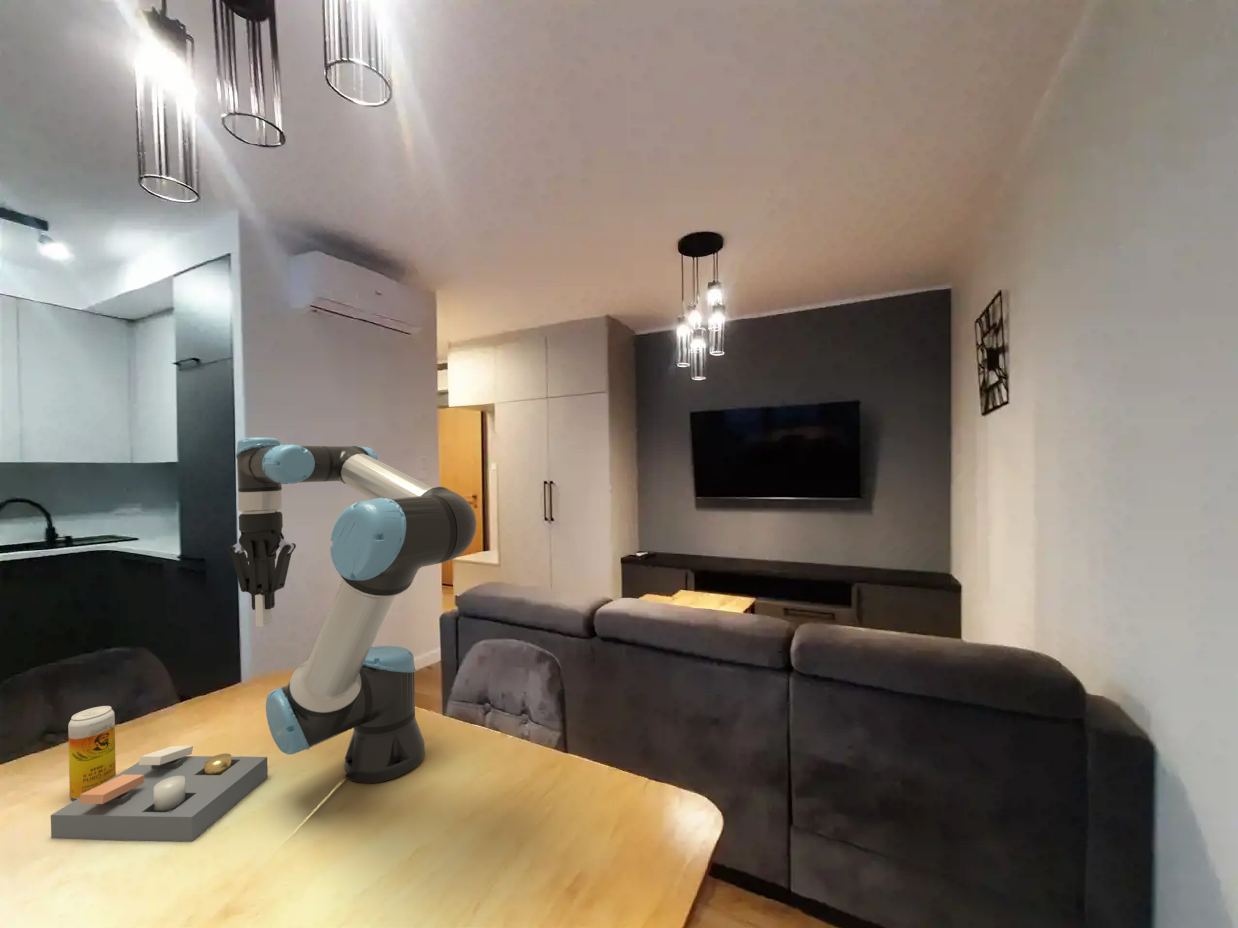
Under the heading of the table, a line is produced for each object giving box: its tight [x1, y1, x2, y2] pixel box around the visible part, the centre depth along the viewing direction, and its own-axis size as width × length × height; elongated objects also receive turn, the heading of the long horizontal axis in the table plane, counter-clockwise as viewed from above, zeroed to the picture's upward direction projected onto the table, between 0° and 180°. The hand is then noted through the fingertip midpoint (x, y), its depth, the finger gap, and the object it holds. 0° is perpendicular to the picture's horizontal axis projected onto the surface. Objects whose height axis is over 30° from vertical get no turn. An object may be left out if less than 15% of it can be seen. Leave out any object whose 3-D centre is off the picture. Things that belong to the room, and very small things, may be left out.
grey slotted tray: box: [50, 755, 269, 842], centre depth 93 cm, size 24×17×5 cm
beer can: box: [67, 705, 117, 800], centre depth 97 cm, size 6×6×15 cm
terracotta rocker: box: [79, 775, 144, 804], centre depth 88 cm, size 4×7×1 cm, turn 178°
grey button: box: [154, 776, 185, 811], centre depth 87 cm, size 4×4×4 cm
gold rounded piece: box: [204, 753, 232, 775], centre depth 97 cm, size 4×4×4 cm
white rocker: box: [138, 745, 194, 765], centre depth 98 cm, size 4×7×1 cm, turn 178°
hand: (263, 624), depth 108 cm, fingers closed
